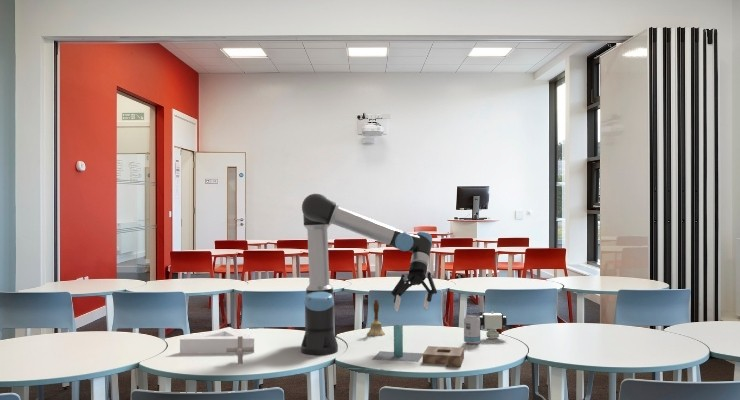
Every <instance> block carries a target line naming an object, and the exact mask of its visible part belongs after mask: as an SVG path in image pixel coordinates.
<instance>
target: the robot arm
mask: <svg viewBox="0 0 740 400" xmlns="http://www.w3.org/2000/svg"><path fill="white" fill-rule="evenodd" d="M301 211H302V214H303V226H304V228H305V229H306V230H307V231H306V232H307V254H308V283H309V285H308V286H307V287H306V288H305V291H306V292H305V293H306V295H305V297H304V319H305V320H304V321H305V322H304V329H305V331H304V335H303V338H302V342H301V345H300V351H301V352H302V354H306V355H316V356H317V355H318V356H320V355H321V356H322V355H328V354H329V355H330V354H333V353H337V352H338V351H339V345H338V341H337V339H336V335H335V331H334V308H335V300H334V287H333V286H332V285H331V284H330V267H329V265H330V264H329V263H330V261H329V243H328V241H329V239H328V229H329V227H330V226H331V225H335V226H337V227H339V228H342V229H345V230H348V231H350V232H353V233H355V234H358V235H361V236H364V237H366V238H368V239H371V240H374V241H376V242H380V243H382V244H384V245H387V246H390V247H393V248H395V249H397V250H399V251H401V252H406V251H407V252H410V253H412V255H411V259H410V264H409V267H408V273H407V275H405V274H402V275H401V276H400V279H399V281H398V282H397V284H396V285H395V286H394V288H393V289H392V290H391V293H390V294H391V295H392V296H393V297H394V299H393V303H394V307H393V310H394V311H395V312H396V313H398V312H399V310H400V305H401V300H402V295H403V294H404V293H405V292H406V291H407V290H409V288H411V287H412V286H416V285H417V286H420V285H422V286H423V288H424V289H425V291H427V292H425V296H424V301H423V305H422V306H423V308H424V309H425V311H428V310H429V306H430V302H431V301H432V298H433V295H435V294H436V295H437V293H438V291H437V288H436V285H435V283H434V280H433V279H434V278H433V276H434V275H433V274H432V273H431V272H430V271H429V272H428V265H429V260H430V255H431V252H432V251H431V250H432V246H433V244H432V243H433V237H432V234H431V233H429V232H426V231H417V233H416V234H412V233H409V232H406V231H403V230H400V229H397V228H396V227H393V226H390V225H387V224H385V223H382V222H380V221H377V220H375V219H372V218H369V217H367V216H364V215H361V214H360V213H359V214H358V213H356V212H354V211H351V210H349V209H347V208H344V207H340V205H339V203H336V202H334V201H332V200H330V199H329V198H327V197H326V196H325V195H324V194H321V193H311V194H309V195H308V196H306V197H305V198H304V199H303V201H302V204H301ZM426 279H427V280H428V283H429V286H430V288H429V287H428V285H427V284H426V282H425V280H426Z"/></svg>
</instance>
